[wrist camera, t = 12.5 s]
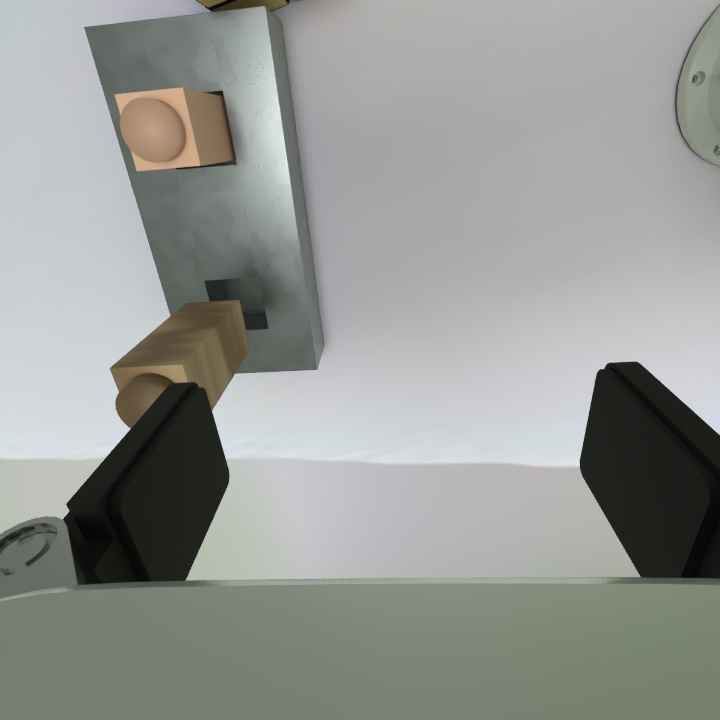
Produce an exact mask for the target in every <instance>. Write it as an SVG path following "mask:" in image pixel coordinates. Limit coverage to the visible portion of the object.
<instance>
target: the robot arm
mask: <svg viewBox="0 0 720 720" xmlns="http://www.w3.org/2000/svg"><path fill="white" fill-rule="evenodd" d="M693 77H694V80H693V82H692V78H693ZM677 113H678V122H679V125H680V128H681V131H682V134H683V136H684V138H685V140H686V141H687V143H688V144H689V146H690V147H691V149H693V150H694V151H695V152H696V153H697V154H698V155H699V156H700V157H701V158H703V159H705V160H707V161H709V162H711V163H713V164H716V165H720V6H719V7H718V9H717V10H716V11H715V12H714V14H713V15H712V16H711V18H710V19H709V20H708V21H707V23H706V24H705V25H704V26H703V28H702V30H701V31H700V33H699V35H698V37H697V38H696V40H695V42H694V43H693V45H692V47H691V49H690V51H689V54H688V56H687V59H686V61H685V63H684V66H683V69H682V73H681V77H680V81H679V85H678V94H677ZM714 148H715V149H714ZM713 150H714V151H713ZM580 470H581V473H582V476H583V478H584V480H585V481H586V483H587V485H588V487H589V488H590V490H591V492H592V493H593V495H594V497H595V499H596V500H597V502H598V504H599V506H600V507H601V509H602V511H603V512H604V514H605V516H606V517H607V519H608V521H609V523H610V524H611V526H612V528H613V530H614V531H615V533H616V535H617V537H618V538H619V540H620V542H621V544H622V545H623V547H624V549H625V550H626V552H627V554H628V555H629V557H630V559H631V560H632V563H633V564H634V566H635V568H636V569H637V571H638V573H639V575H640V576H641V577H567V578H566V577H559V578H558V577H555V578H554V577H542V578H541V577H540V578H539V577H538V578H537V577H533V578H530V577H526V578H525V577H524V578H523V577H519V578H518V577H516V578H515V577H514V578H508V577H507V578H360V579H359V578H358V579H357V578H355V579H354V578H353V579H270V580H269V579H267V580H197V581H194V580H193V581H185V580H186V578H187V576H188V574H189V571H190V569H191V567H192V565H193V563H194V560H195V558H196V556H197V553H198V551H199V549H200V547H201V544H202V542H203V540H204V538H205V535H206V533H207V531H208V529H209V527H210V524H211V522H212V520H213V518H214V515H215V513H216V511H217V509H218V506H219V504H220V502H221V500H222V497H223V495H224V493H225V491H226V488H227V486H228V483H229V469H228V466H227V462H226V459H225V455H224V452H223V448H222V445H221V441H220V438H219V434H218V431H217V427H216V424H215V420H214V417H213V413H212V410H211V406H210V403H209V399H208V396H207V392H206V390H205V389H204V388H203V387H199V386H198V384H197V383H195V382H182V383H171V384H169V385H168V386H167V387H166V389H165V390H164V391H163V392H162V393H161V394H160V396H159V397H158V398H157V399H156V400H155V401H154V403H153V404H152V405H151V406H150V407H149V408H148V410H147V411H146V412H145V413H144V414H143V415H142V417H141V418H140V419H139V420H138V421H137V422H136V424H135V425H134V426H133V427H132V428H131V429H130V431H129V432H128V433H127V434H126V435H125V436H124V437H123V439H122V440H121V441H120V442H119V443H118V444H117V446H116V447H115V448H114V449H113V450H112V451H111V453H110V454H109V455H108V456H107V457H106V458H105V460H104V461H103V462H102V463H101V464H100V465H99V467H98V468H97V469H96V470H95V471H94V472H93V474H92V475H91V476H90V477H89V478H88V479H87V481H86V482H85V483H84V484H83V485H82V486H81V487H80V489H79V490H78V491H77V492H76V493H75V494H74V496H73V497H72V498H71V499H70V500H69V501H68V503H67V504H66V505H67V507H68V509H69V513H68V514H67V515H66V516H65V517H64V519H63V520H62V519H59V518H57V517H40V518H35V519H31V520H28V521H26V522H23V523H20V524H18V525H16V526H14V527H12V528H10V529H8V530H6V531H5V532H3V533H2V534H0V720H720V435H719V434H718V433H717V432H716V431H714V430H713V429H712V428H711V427H710V426H709V425H708V424H707V423H706V422H704V421H703V420H702V419H701V418H700V417H699V416H698V415H697V414H695V413H694V412H693V411H692V410H691V409H690V408H689V407H688V406H687V405H685V404H684V403H683V402H682V401H681V400H680V399H679V398H678V397H677V396H675V395H674V394H673V393H672V392H671V391H670V390H669V389H668V388H667V387H665V386H664V385H663V384H662V383H661V382H660V381H659V380H658V379H657V378H655V377H654V376H653V375H652V374H651V373H650V372H649V371H648V370H647V369H645V368H644V367H643V366H642V365H641V364H640V363H638V362H617V363H608V364H607V365H606V367H605V368H604V369H600V370H599V371H598V373H597V375H596V380H595V385H594V390H593V396H592V401H591V406H590V411H589V416H588V421H587V427H586V432H585V437H584V442H583V447H582V452H581V458H580Z"/></svg>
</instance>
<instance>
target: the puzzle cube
mask: <svg viewBox="0 0 720 720" xmlns="http://www.w3.org/2000/svg"><path fill="white" fill-rule="evenodd" d="M197 1H198V2H199V3H201V4H202V5H204V6H205V7H206V8H207V9H209V10H210V11H212V12H218V11H227V10H235V9H244V8H252V7H261V6H266V7H267V9H268V10H269V11H271V10H274V9H277V8H279V7H282V6H284V5H287V4H288V3H289V0H197Z"/></svg>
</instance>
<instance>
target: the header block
mask: <svg viewBox="0 0 720 720" xmlns="http://www.w3.org/2000/svg"><path fill="white" fill-rule="evenodd" d="M84 28H85V31H86V35H87V38H88V41H89V45H90V48H91V51H92V55H93V58H94V61H95V65H96V68H97V71H98V75H99V78H100V81H101V85H102V88H103V91H104V95H105V98H106V101H107V105H108V108H109V111H110V115H111V118H112V121H113V125H114V128H115V131H116V135H117V138H118V141H119V145H120V148H121V151H122V155H123V158H124V161H125V165H126V168H127V171H128V175H129V178H130V181H131V185H132V188H133V191H134V195H135V198H136V201H137V205H138V208H139V211H140V215H141V218H142V221H143V225H144V228H145V231H146V235H147V238H148V241H149V245H150V248H151V251H152V255H153V258H154V261H155V265H156V268H157V271H158V275H159V278H160V281H161V285H162V288H163V291H164V295H165V298H166V301H167V305H168V308H169V311H170V315H171V316H172V315H173V314H174V313H175V312H176V311H177V310H179V309H180V308H181V307H182V306H183V305H185V304H186V303H194V302H210V301H227V300H240V305H241V309H242V314H243V318H244V323H245V327H246V332H247V337H248V341H249V346H250V350H249V352H248V354H247V355H246V357H245V358H244V360H243V362H242V363H241V365H240V366H239V368H238V370H237V371H236V373H257V372H278V371H299V370H317V369H318V365H319V362H320V358H321V355H322V351H323V348H324V341H323V334H322V326H321V318H320V311H319V303H318V296H317V288H316V280H315V273H314V265H313V257H312V250H311V242H310V235H309V227H308V219H307V212H306V204H305V197H304V189H303V181H302V174H301V166H300V158H299V151H298V143H297V136H296V128H295V120H294V113H293V105H292V97H291V90H290V82H289V75H288V67H287V59H286V52H285V44H284V37H283V29H282V24H281V23H280V21H279V20H278V19H277V18H276V17H275V16H274V15H273V14H272V13H271V12H270V11H269V10H268V9H267V7H266V6H261V7H252V8H244V9H235V10H227V11H218V12H210V13H201V14H193V15H184V16H176V17H167V18H159V19H150V20H142V21H133V22H125V23H116V24H108V25H99V26H91V27H84ZM181 87H183V88H188V89H192V90H196V91H201V92H205V93H209V94H213V95H218V96H222V97H224V99H225V104H226V109H227V114H228V119H229V125H230V130H231V135H232V140H233V145H234V151H235V156H236V160H231V161H225V162H219V163H214V164H208V165H202V166H192V167H181V168H169V169H158V170H146V171H137V170H136V167H135V163H134V160H133V156H132V153H131V150H130V149H129V147H128V146H127V144H126V143H125V141H124V139H123V136H122V133H121V129H120V117H121V115H120V112H119V108H118V105H117V101H116V98H115V95H114V94H123V93H133V92H143V91H152V90H162V89H172V88H181ZM236 373H235V374H236Z"/></svg>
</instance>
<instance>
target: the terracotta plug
mask: <svg viewBox="0 0 720 720" xmlns="http://www.w3.org/2000/svg"><path fill="white" fill-rule="evenodd" d="M114 95H115V98H116V101H117V105H118V108H119V112H120V115H121V117H120V129H121V133H122V136H123V139H124V141H125V143H126V144H127V146H128V147H129V149H130V150H131V153H132V156H133V160H134V163H135V167H136V170H137V171H146V170H158V169H169V168H181V167H192V166H202V165H208V164H214V163H219V162H225V161H231V160H236V156H235V151H234V145H233V140H232V135H231V130H230V125H229V119H228V114H227V109H226V104H225V99H224V97H222V96H218V95H213V94H209V93H205V92H201V91H196V90H192V89H188V88H183V87H181V88H172V89H162V90H152V91H143V92H133V93H123V94H114Z"/></svg>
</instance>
